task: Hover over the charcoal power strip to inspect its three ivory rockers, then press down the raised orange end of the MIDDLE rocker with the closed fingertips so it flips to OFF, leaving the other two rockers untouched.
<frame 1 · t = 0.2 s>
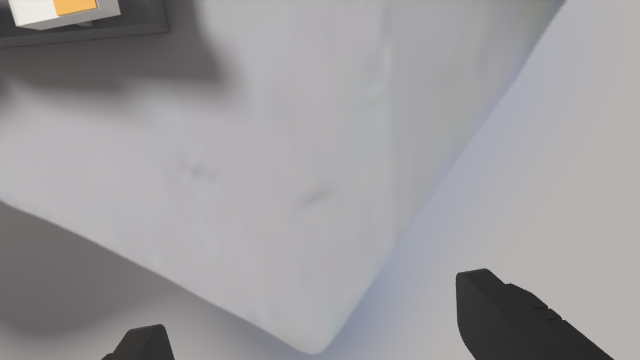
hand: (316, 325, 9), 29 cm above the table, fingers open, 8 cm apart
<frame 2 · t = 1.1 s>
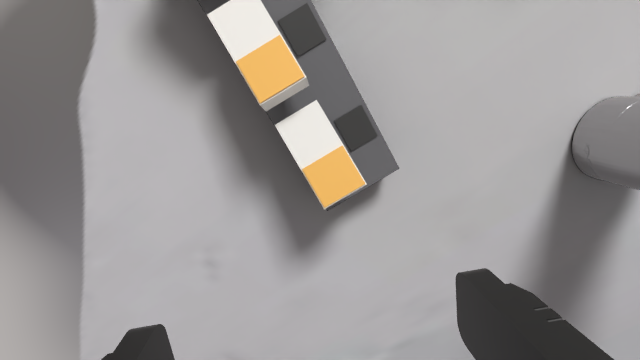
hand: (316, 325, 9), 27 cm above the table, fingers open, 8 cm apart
power strip: (280, 50, 33), on the table
rocker 2: (259, 50, 26), point 7 cm above the table, hinge at 18.0°
rocker 3: (321, 155, 29), point 7 cm above the table, hinge at 18.0°
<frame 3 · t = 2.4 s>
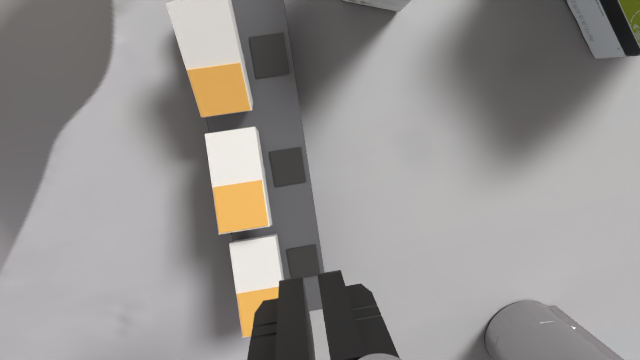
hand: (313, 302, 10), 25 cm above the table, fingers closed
rocker 1: (214, 58, 25), point 7 cm above the table, hinge at -18.0°
power strip: (266, 161, 34), on the table
rocker 2: (239, 180, 28), point 7 cm above the table, hinge at 18.0°
rocker 3: (260, 283, 30), point 7 cm above the table, hinge at 18.0°
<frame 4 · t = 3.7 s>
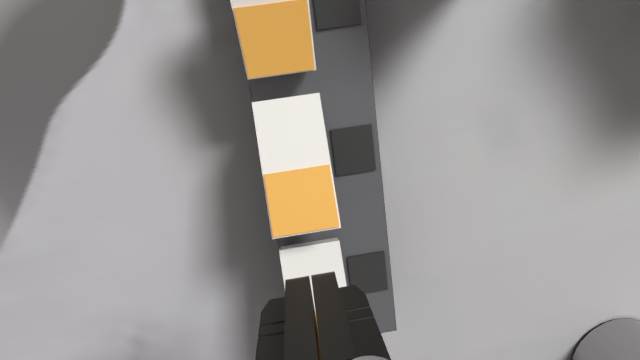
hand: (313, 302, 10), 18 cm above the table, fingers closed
power strip: (317, 146, 27), on the table
rocker 2: (296, 166, 21), point 7 cm above the table, hinge at 18.0°
rocker 3: (318, 302, 23), point 7 cm above the table, hinge at 18.0°
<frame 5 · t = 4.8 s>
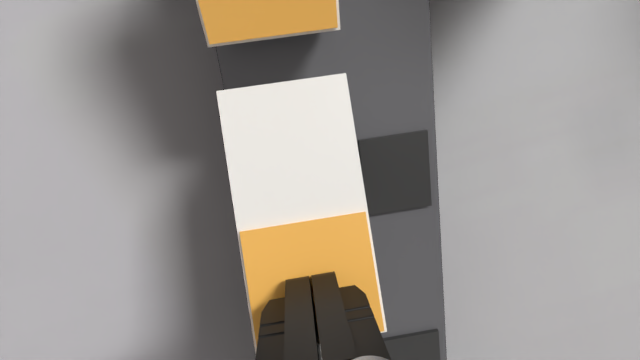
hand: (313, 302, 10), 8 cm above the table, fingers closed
power strip: (331, 162, 18), on the table
rocker 2: (301, 209, 11), point 7 cm above the table, hinge at 16.1°, touching gripper
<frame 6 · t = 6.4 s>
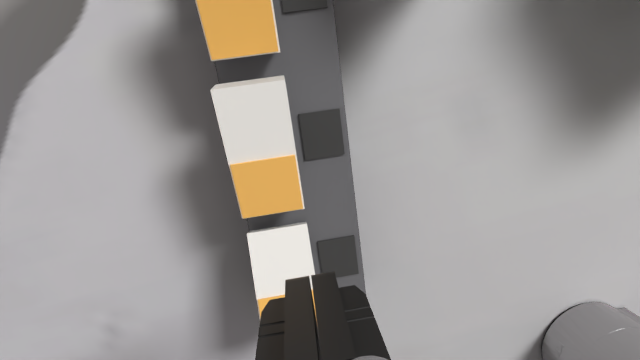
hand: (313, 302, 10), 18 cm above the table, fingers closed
power strip: (289, 132, 27), on the table
rocker 2: (262, 149, 21), point 7 cm above the table, hinge at -9.4°
rocker 3: (286, 285, 23), point 7 cm above the table, hinge at 18.0°
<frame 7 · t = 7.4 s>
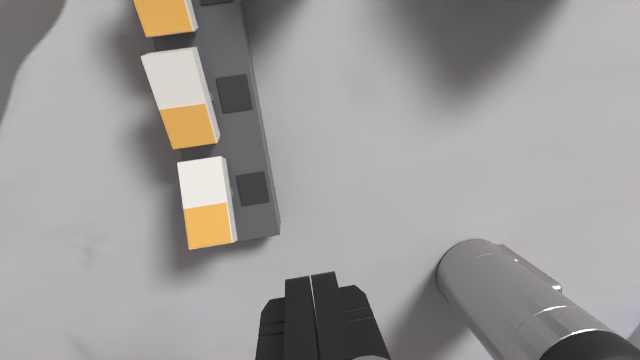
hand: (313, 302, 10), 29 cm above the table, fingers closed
power strip: (219, 96, 36), on the table
rocker 2: (184, 99, 30), point 7 cm above the table, hinge at -14.2°
rocker 3: (207, 202, 32), point 7 cm above the table, hinge at 18.0°
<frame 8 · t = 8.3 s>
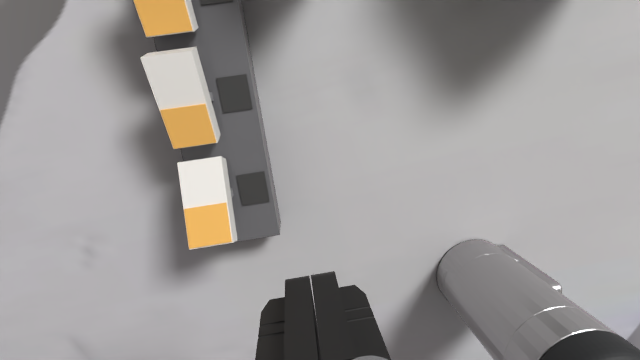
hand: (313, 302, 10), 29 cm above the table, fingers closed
power strip: (220, 96, 36), on the table
rocker 2: (184, 100, 30), point 7 cm above the table, hinge at -16.3°
rocker 3: (207, 202, 32), point 7 cm above the table, hinge at 18.0°
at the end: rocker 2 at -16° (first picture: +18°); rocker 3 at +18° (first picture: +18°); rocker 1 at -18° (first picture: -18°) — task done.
